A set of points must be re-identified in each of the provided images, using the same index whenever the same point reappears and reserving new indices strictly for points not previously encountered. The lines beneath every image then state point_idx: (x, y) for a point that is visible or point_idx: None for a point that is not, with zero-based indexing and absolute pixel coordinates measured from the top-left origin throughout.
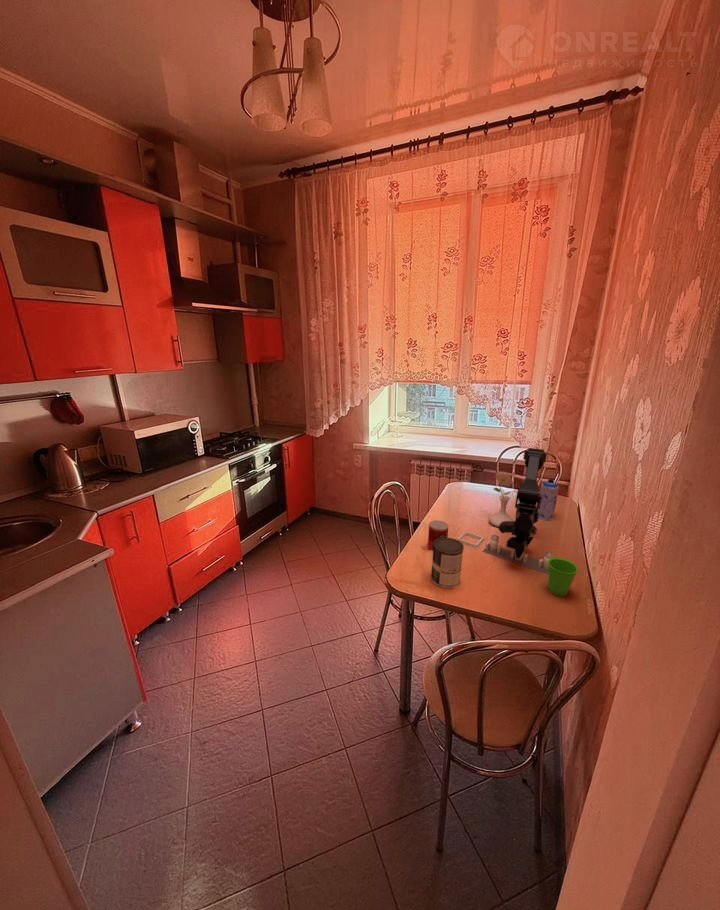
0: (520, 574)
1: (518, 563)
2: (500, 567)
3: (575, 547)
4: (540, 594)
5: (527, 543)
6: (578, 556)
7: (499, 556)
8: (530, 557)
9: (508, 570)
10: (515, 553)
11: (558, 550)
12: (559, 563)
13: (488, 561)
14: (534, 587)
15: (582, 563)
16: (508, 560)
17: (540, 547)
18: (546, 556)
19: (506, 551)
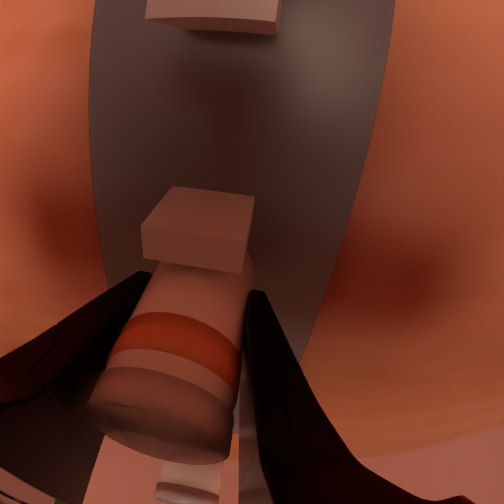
0: (44, 276)
1: (115, 270)
2: (11, 134)
3: (483, 427)
4: (9, 343)
5: (240, 492)
6: (418, 445)
7: (109, 62)
8: (299, 347)
9: (20, 199)
10: (166, 271)
11: (463, 406)
12: (56, 500)
13: (31, 11)
14: (20, 331)
15: (365, 457)
16: (95, 178)
17: (494, 352)
18: (157, 486)
19: (310, 109)
